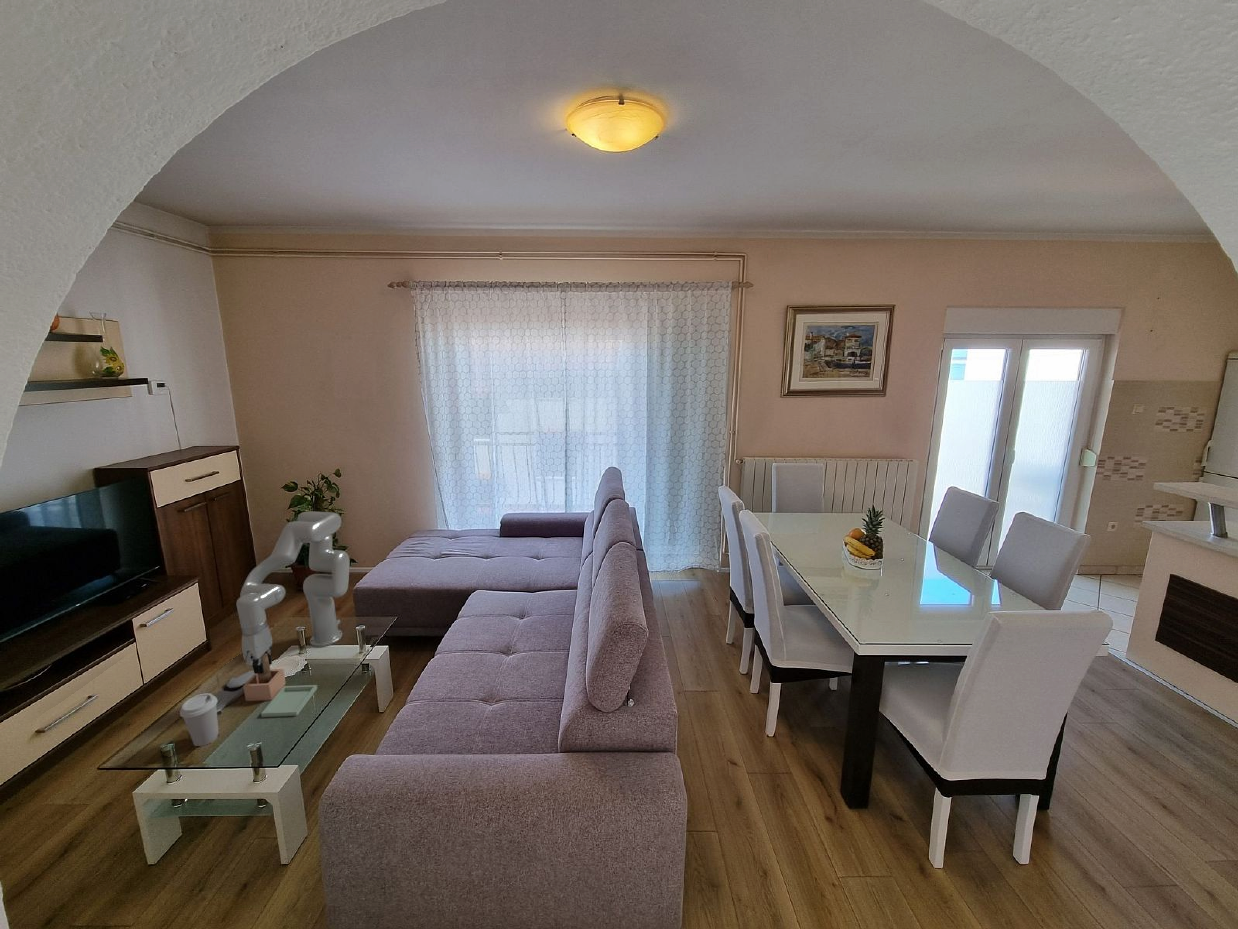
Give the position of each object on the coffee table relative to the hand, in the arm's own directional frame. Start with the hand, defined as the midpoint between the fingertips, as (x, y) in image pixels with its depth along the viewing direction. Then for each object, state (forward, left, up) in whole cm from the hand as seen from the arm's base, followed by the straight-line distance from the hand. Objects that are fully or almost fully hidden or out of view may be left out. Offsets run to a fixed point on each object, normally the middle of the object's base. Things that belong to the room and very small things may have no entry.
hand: (263, 668), depth 181 cm
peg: (0, 0, -8) cm, 8 cm away
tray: (+6, +12, -11) cm, 18 cm away
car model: (+2, -12, -12) cm, 17 cm away
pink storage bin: (0, 0, -11) cm, 11 cm away
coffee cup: (+21, -7, -11) cm, 25 cm away
